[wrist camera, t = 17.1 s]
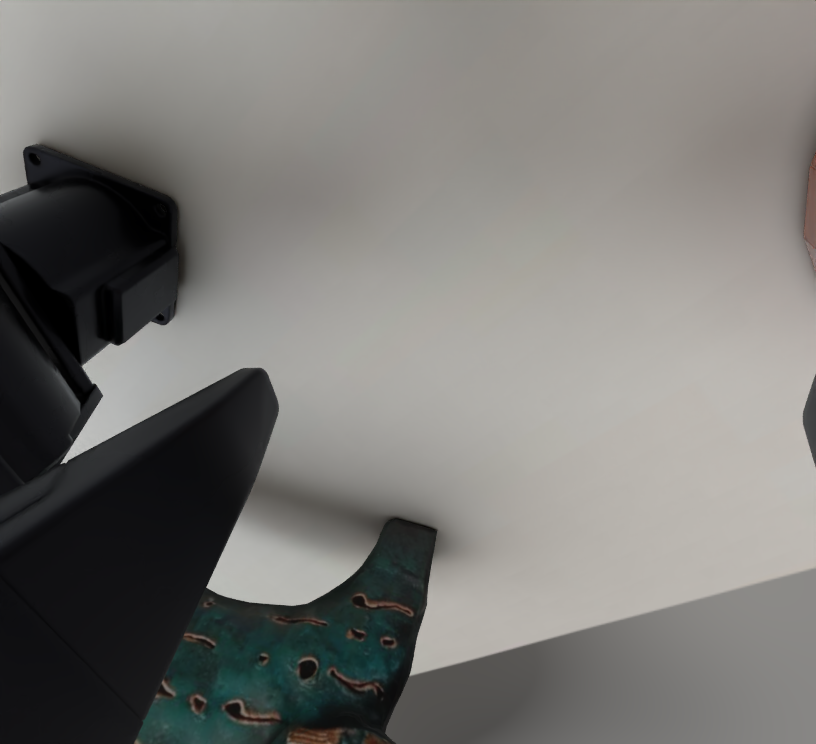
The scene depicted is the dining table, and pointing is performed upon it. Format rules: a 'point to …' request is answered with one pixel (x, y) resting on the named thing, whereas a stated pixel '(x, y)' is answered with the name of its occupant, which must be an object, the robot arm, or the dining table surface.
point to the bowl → (811, 213)
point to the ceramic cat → (300, 658)
